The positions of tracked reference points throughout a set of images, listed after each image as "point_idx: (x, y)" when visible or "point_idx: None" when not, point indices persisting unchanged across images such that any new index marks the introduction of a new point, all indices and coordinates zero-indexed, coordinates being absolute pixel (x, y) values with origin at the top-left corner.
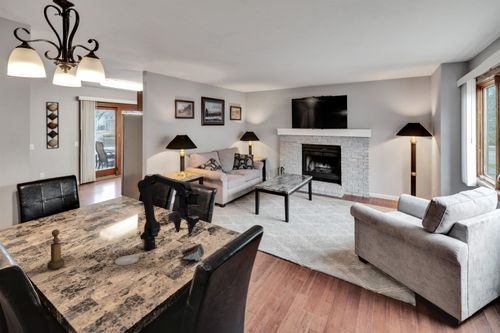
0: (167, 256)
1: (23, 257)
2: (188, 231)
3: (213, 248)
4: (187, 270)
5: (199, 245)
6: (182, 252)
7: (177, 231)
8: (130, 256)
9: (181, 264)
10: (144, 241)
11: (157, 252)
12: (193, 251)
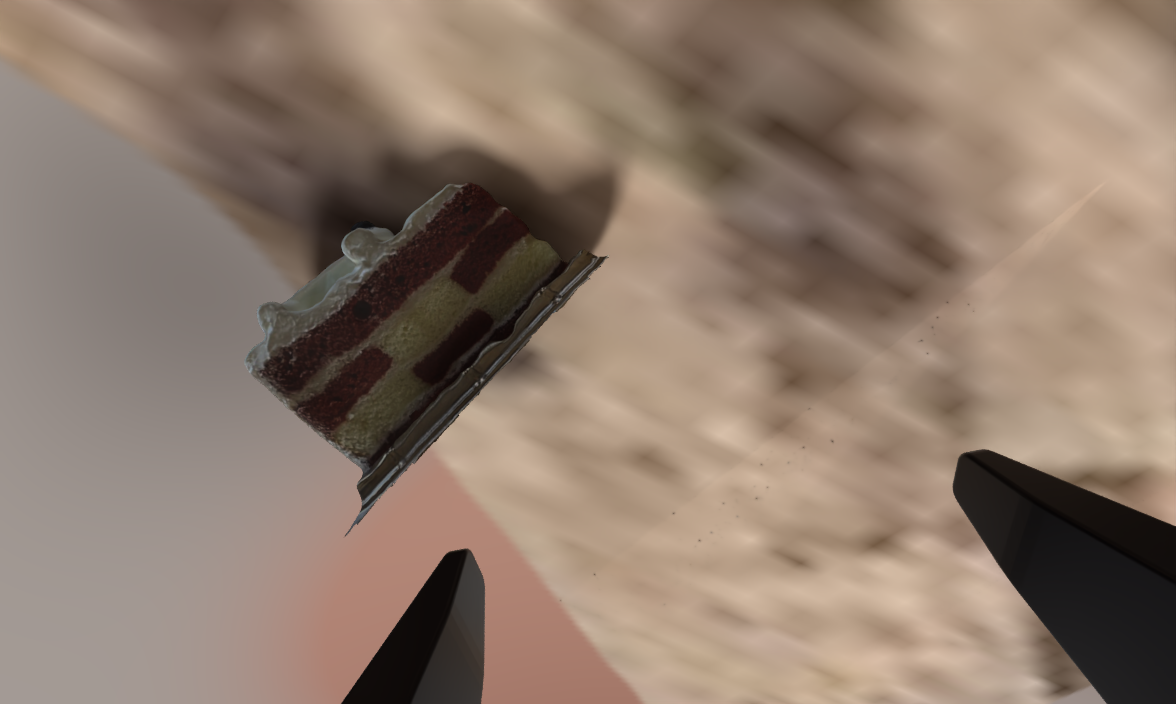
0: (796, 91)
1: None
2: (415, 651)
3: (579, 591)
4: (26, 23)
5: (362, 496)
6: (585, 261)
7: (987, 475)
8: None
9: (332, 84)
10: None
11: (1087, 54)
12: (363, 356)
